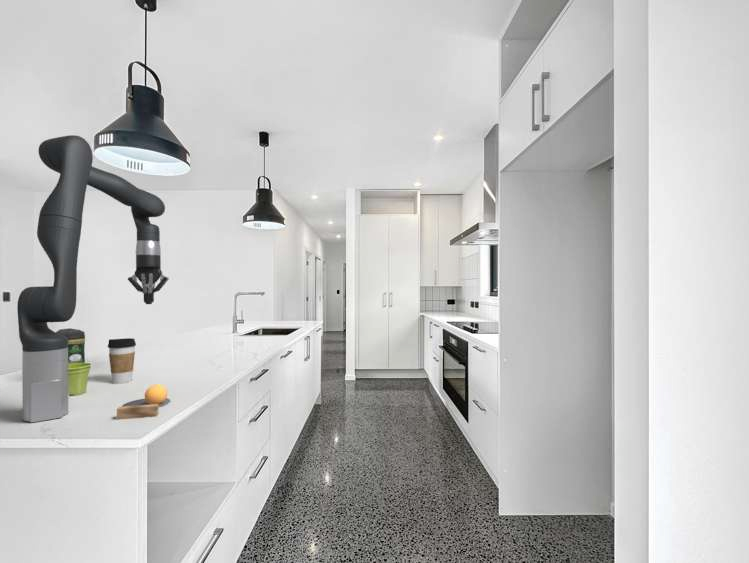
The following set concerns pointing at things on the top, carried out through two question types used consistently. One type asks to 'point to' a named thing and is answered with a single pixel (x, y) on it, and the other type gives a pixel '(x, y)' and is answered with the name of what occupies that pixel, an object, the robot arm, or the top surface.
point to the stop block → (137, 411)
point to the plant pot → (78, 377)
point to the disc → (144, 402)
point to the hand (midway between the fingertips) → (148, 304)
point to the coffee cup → (121, 359)
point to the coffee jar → (74, 345)
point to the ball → (156, 394)
